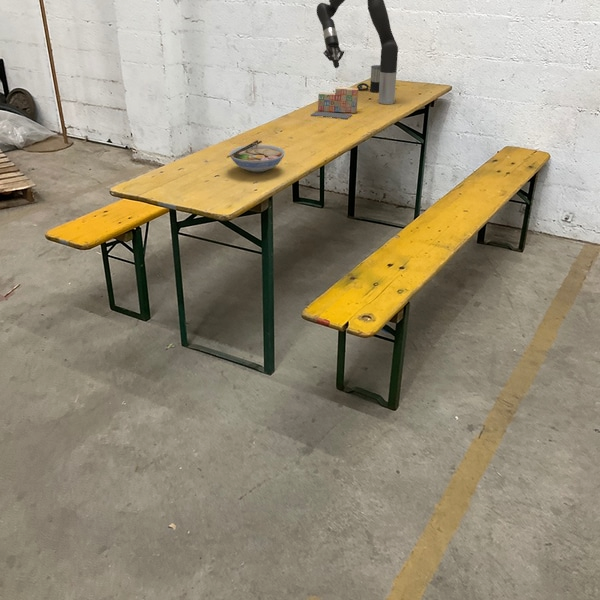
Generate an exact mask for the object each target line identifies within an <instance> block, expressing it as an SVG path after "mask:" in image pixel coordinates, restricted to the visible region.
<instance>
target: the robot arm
mask: <svg viewBox="0 0 600 600" xmlns="http://www.w3.org/2000/svg"><path fill="white" fill-rule="evenodd" d="M345 1H346V0H328V2H329V4H328V3H326V2H325V3H324V2H320V3H319V4H317V6H316V16H317V18H318V21H319V22H320V24H321V28H322V31H323V32H322V33H323V39H324V44H325V50H324V51H323V55H324V56H325V57H326V58H327V59H328V61H331V62H332V64H333V67H334V69H338V68H339V67H340V60H342V58H343V56H344V54H345V51H344V50H341V48H340V43H339V38H338V34H337V30H336V25H335V20H334V19H332V18H333V17H334V16H335V14H336V13H337V11H338V9H339V7H340V6H341V5H342V4H343V3H344V2H345ZM367 10H368V13H369V16H370V19H371V22H372V25H373V26H374V29H375V31H376V32H377V35H378V38H379V42H380V46H381V48H380V64H379V65H380V84H379V93H378V104H381V105H393V104H395V98H396V85H397V70H398V54H399V47H398V46H399V45H398V44H397V41H396V39H395V37H394V34H393V31H392V27H391V23H390V19H389V18H390V17H389V14H388V10H387V7H386V4H385V2H384V0H367Z"/></svg>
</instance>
